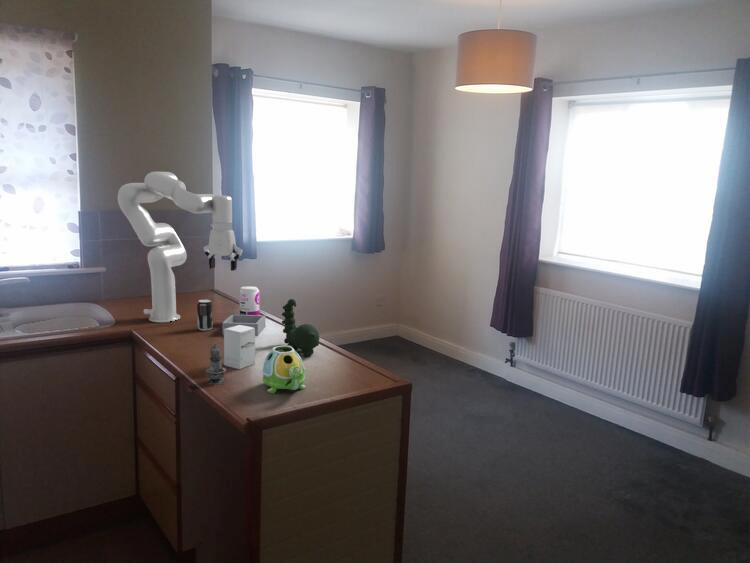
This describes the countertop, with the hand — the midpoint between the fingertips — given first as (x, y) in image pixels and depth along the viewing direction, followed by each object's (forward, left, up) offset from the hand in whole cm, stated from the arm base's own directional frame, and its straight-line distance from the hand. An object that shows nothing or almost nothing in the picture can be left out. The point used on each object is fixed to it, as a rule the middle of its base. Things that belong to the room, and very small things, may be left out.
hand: (222, 269), depth 234 cm
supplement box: (+19, -46, -25) cm, 55 cm away
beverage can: (-6, -4, -25) cm, 26 cm away
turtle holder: (+38, -66, -25) cm, 80 cm away
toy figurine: (+36, -29, -25) cm, 52 cm away
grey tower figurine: (+15, -62, -25) cm, 69 cm away
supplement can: (+8, +10, -25) cm, 28 cm away
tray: (+10, -4, -24) cm, 26 cm away
